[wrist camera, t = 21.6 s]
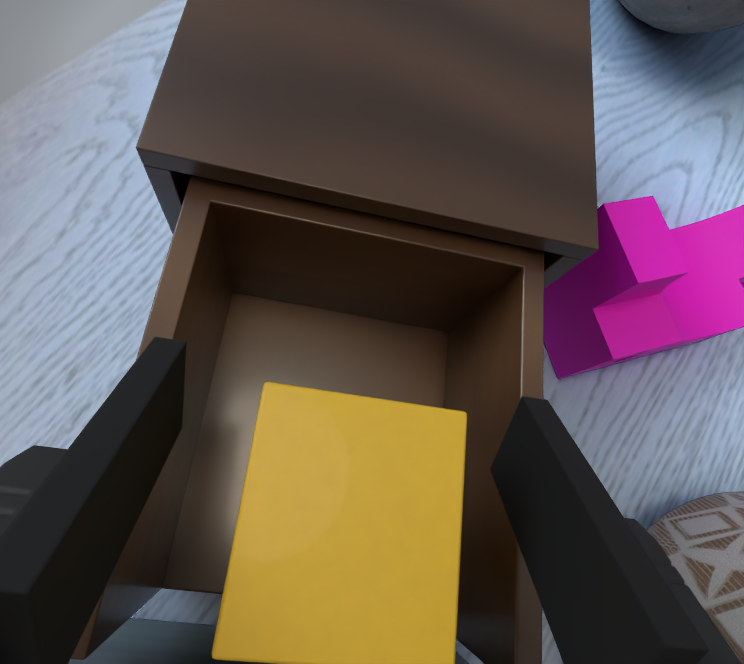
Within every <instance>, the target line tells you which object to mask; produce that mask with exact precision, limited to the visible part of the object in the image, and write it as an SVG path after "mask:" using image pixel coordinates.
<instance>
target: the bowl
mask: <svg viewBox="0 0 744 664" xmlns="http://www.w3.org/2000/svg"><path fill="white" fill-rule="evenodd" d="M619 1H620V2H621V4H622V5H623V6H624V7H625V8H626V9H627V10H628V11H629V12H630V13H631V14H633V15H634V16H635V17H636V18H637V19H639V20H641V21H643V22H645V23H647V24H649V25H650V26H652V27H654V28H657V29H661V30H664V31H667V32H670V33H680V34H690V33H706V32H714V31H720V30H724V29H727V28H731V27H735V26H738V25H741V24H744V0H619Z"/></svg>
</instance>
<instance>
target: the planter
mask: <svg viewBox="0 0 744 664" xmlns="http://www.w3.org/2000/svg"><path fill="white" fill-rule="evenodd" d="M647 531H648V532H649V533H650V534H651V535H652V536H653V537H654V538H655V539H656V540H657V542H658V543H659V545H660V546H661V547H662V549H663V550H664V552H665V553H666V555H667V556H668V558H669V559H670V560H671V565H672V566H675V568H676V569H677V571H678V572H679V574H680V575H681V576H682V578H683V579H684V584H685V585H687V586H688V587H689V588H690V589H691V591H692V592H693V594H694V595H695V597H696V598H697V600H698V601H699V603H700V604H701V605H702V607H703V608H704V610H705V611H706V613H707V614H708V616H709V617H710V618H711V620H712V621H713V623H714V624H715V626H716V627H717V629H718V630H719V632H720V633H721V634H722V636H723V637H724V639H725V640H726V642H727V643H728V645H729V646H730V647H731V649H732V650H733V652H734V653H735V655H736V656H737V658H738V659H739V660H740V661H741V663H743V664H744V492H725V493H718V494H713V495H709V496H705V497H701V498H698V499H695V500H693V501H690V502H687V503H685V504H683V505H681V506H679V507H677V508H675V509H674V510H672V511H670V512H669V513H667V514H666V515H664V516H663V517H661V518H660V519H659V520H658V521H656V522H655V523H654V524H652V525H651V526H650V527H649V528H648V529H647Z"/></svg>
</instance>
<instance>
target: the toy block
mask: <svg viewBox="0 0 744 664" xmlns="http://www.w3.org/2000/svg"><path fill="white" fill-rule="evenodd" d="M597 217H598V244H599V249H598V250H597V251H596V252H594V253H593V254H592V255H590V256H589V257H588V258H586V259H584V260H583V261H582V262H580V263H579V264H578V265H576V266H575V267H573V268H572V269H571V270H569V271H568V272H566V273H565V274H564V275H562V276H561V277H560V278H558V279H557V280H555V281H554V282H553V283H551V284H550V285H548V286H547V287H546V288H544V336H543V340H544V343H545V346H546V348H547V351H548V354H549V356H550V359H551V362H552V364H553V367H554V370H555V372H556V375H557V378H558V379H561V378H565V377H569V376H572V375H576V374H580V373H583V372H587V371H591V370H595V369H598V368H602V367H606V366H609V365H613V364H617V363H620V362H624V361H628V360H632V359H635V358H639V357H643V356H646V355H650V354H654V353H658V352H661V351H665V350H669V349H672V348H676V347H680V346H683V345H687V344H691V343H695V342H698V341H702V340H705V339H708V338H711V337H714V336H717V335H720V334H723V333H726V332H729V331H732V330H736V329H739V328H742V327H744V289H743V288H744V205H742V206H740V207H737V208H735V209H732V210H730V211H727V212H724V213H722V214H719V215H716V216H714V217H711V218H708V219H705V220H702V221H699V222H696V223H693V224H689V225H686V226H682V227H679V228H675V229H670V230H669V228H668V226H667V224H666V222H665V220H664V218H663V216H662V214H661V211H660V209H659V207H658V205H657V203H656V201H655V199H654V197H653V196H649V197H643V198H637V199H631V200H624V201H618V202H612V203H606V204H603V205H602V206H600V207H599V208H598V209H597Z"/></svg>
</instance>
